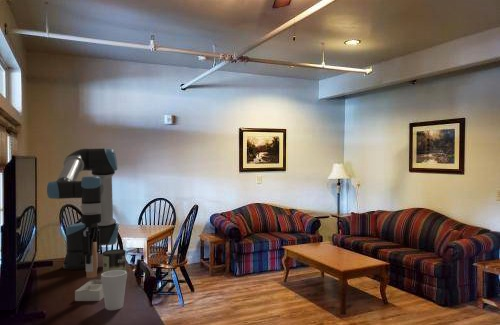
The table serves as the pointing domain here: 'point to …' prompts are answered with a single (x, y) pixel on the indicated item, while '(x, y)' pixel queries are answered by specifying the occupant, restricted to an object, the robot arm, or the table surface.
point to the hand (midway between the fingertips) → (91, 269)
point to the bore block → (90, 291)
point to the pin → (94, 253)
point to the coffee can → (114, 260)
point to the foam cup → (114, 288)
